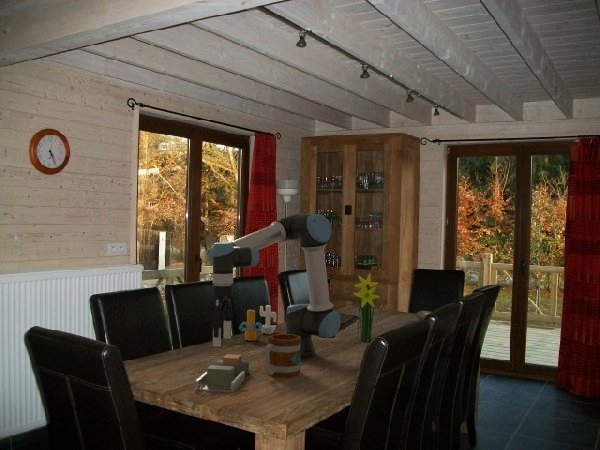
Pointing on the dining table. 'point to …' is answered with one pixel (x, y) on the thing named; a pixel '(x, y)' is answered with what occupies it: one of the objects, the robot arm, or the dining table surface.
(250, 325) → the orange knobbed block
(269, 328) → the figurine
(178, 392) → the dining table surface
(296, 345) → the mug
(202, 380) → the bracket
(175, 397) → the dining table surface
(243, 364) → the grey block tan top
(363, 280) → the daffodil flowers
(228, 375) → the olive green block
